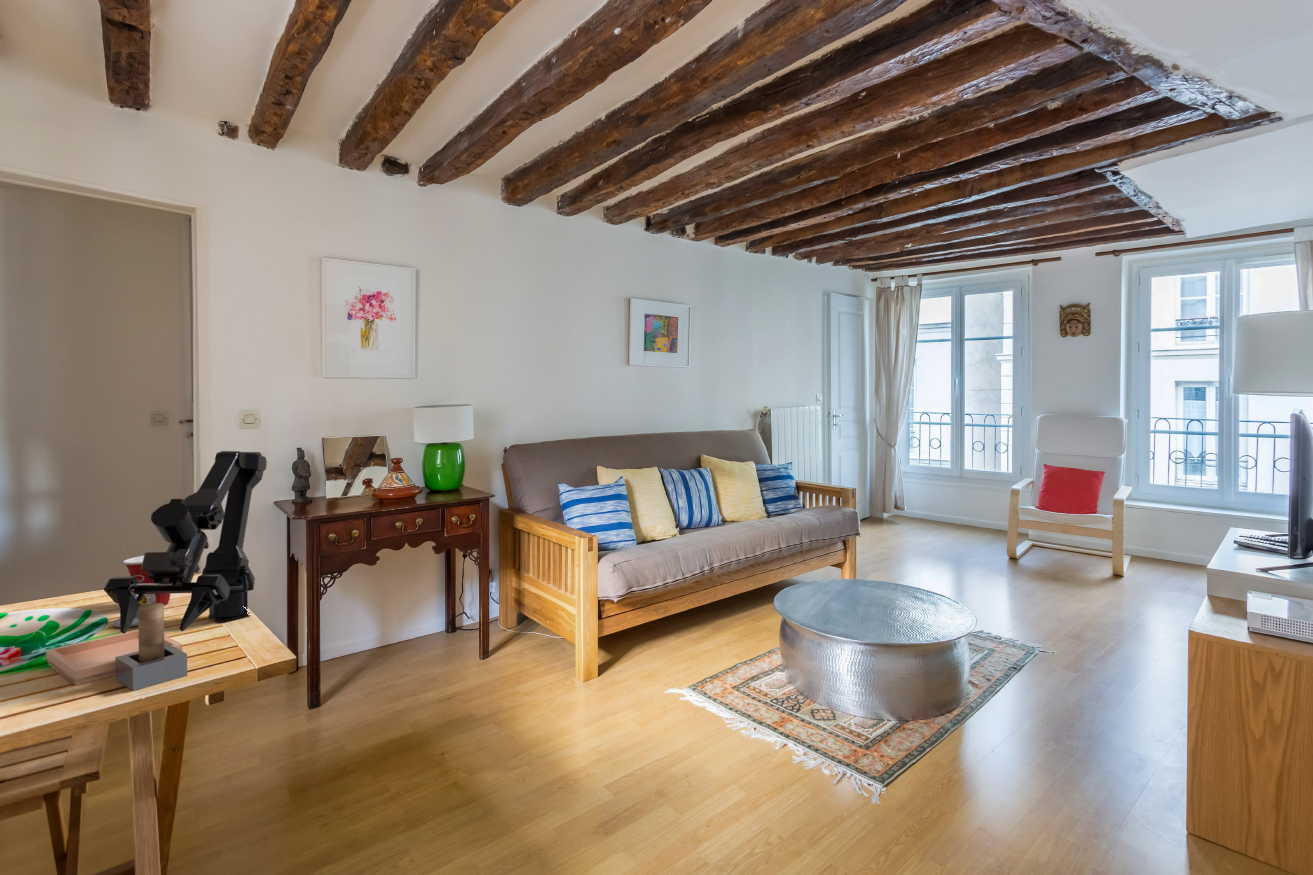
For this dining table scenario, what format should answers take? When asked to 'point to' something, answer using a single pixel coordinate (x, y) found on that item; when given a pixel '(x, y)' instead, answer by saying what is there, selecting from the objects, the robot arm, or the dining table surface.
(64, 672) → the tray
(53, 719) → the dining table surface
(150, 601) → the pocket watch
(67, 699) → the dining table surface
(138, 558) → the plastic cup
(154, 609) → the dowel
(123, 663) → the socket
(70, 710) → the dining table surface
